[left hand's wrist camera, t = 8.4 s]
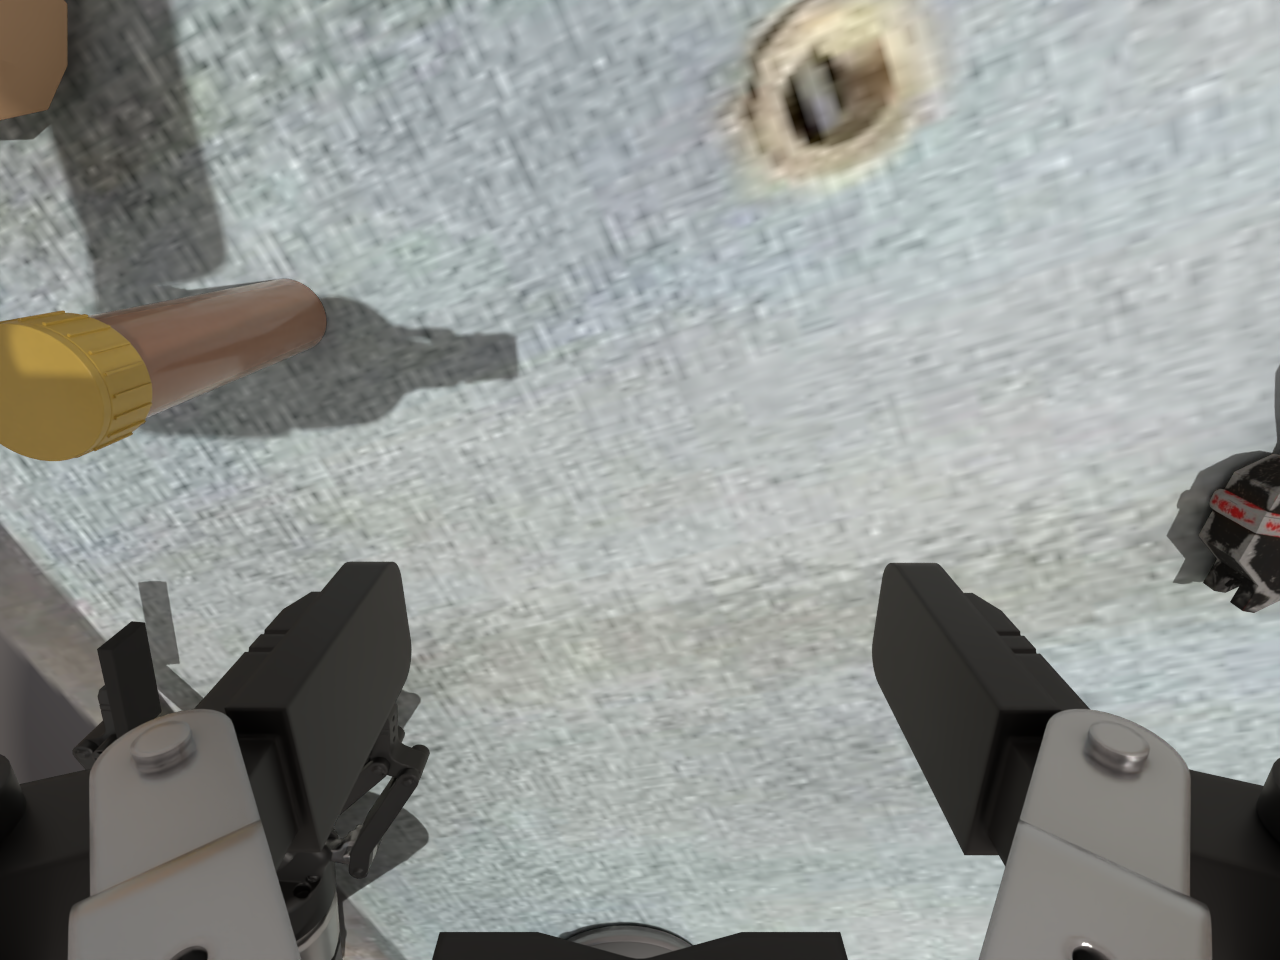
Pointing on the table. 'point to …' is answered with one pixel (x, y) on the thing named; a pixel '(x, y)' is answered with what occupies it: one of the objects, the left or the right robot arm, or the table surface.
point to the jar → (218, 336)
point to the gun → (1247, 535)
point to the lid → (68, 386)
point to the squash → (31, 54)
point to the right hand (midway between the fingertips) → (244, 645)
